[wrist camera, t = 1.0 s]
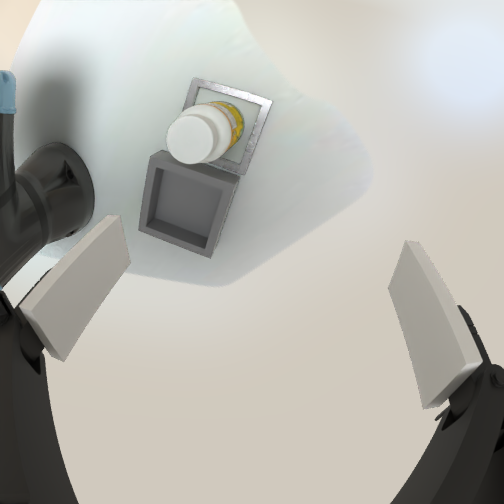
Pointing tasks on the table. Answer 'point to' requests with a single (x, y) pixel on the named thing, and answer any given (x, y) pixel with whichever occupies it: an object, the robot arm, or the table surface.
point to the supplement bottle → (204, 132)
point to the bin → (186, 202)
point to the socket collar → (256, 130)
